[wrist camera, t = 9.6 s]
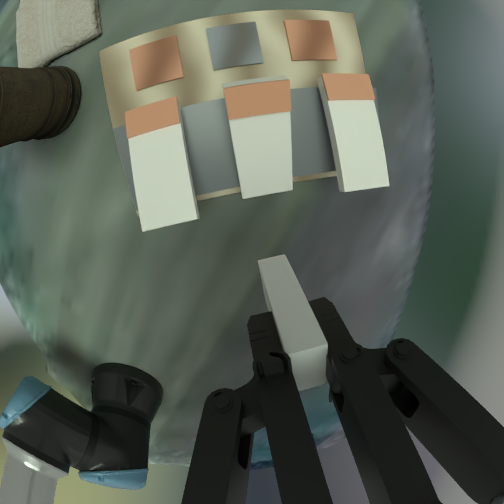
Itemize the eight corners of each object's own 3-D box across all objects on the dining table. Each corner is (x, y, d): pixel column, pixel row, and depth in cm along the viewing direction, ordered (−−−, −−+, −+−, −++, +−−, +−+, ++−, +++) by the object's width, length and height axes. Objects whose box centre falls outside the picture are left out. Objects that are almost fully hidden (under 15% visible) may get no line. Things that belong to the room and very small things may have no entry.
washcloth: (99, -52, 10) (91, -61, 8) (107, 36, 19) (96, 30, 17) (28, -10, 10) (17, -14, 8) (31, 81, 19) (17, 81, 17)
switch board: (141, 211, 30) (136, 216, 28) (104, 53, 20) (97, 50, 18) (367, 168, 30) (375, 172, 29) (347, 16, 21) (354, 12, 19)
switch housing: (148, 195, 28) (136, 210, 23) (130, 125, 24) (113, 128, 19) (358, 156, 28) (381, 165, 24) (352, 89, 24) (375, 87, 20)
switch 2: (334, 190, 23) (346, 192, 20) (313, 82, 20) (322, 73, 17) (377, 184, 23) (391, 186, 20) (356, 82, 20) (368, 74, 18)
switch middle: (239, 184, 24) (243, 201, 23) (220, 80, 17) (223, 88, 15) (286, 175, 24) (293, 192, 23) (280, 72, 17) (289, 80, 15)
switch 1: (151, 230, 22) (141, 232, 19) (135, 121, 20) (124, 112, 18) (201, 218, 22) (196, 219, 19) (182, 107, 20) (176, 96, 18)
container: (82, 57, 20) (-26, 36, 4) (84, 127, 24) (-29, 161, 8) (27, 81, 19) (-78, 91, 3) (30, 145, 23) (-73, 191, 7)
